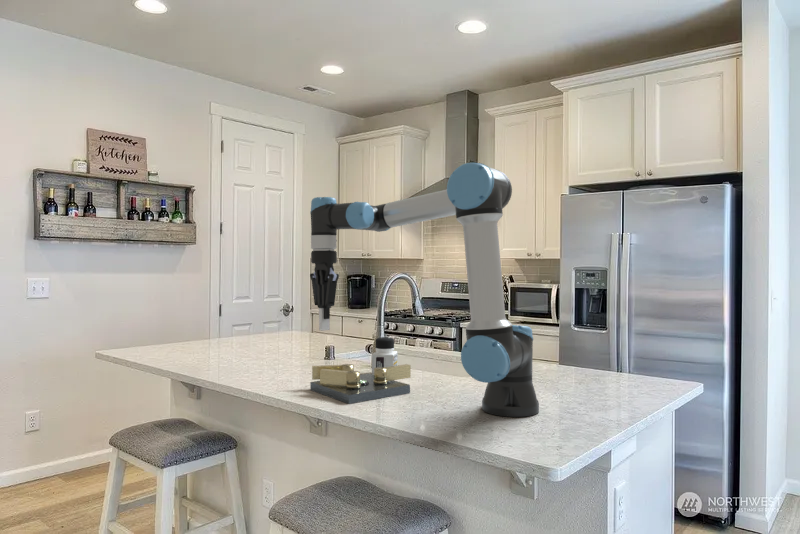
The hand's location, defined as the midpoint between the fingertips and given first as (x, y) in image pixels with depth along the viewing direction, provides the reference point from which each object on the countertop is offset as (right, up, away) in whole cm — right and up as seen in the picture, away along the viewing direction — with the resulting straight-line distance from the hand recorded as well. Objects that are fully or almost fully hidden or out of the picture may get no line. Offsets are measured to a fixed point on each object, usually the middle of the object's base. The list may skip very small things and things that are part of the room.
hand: (324, 329), depth 172 cm
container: (+17, -20, +34) cm, 43 cm away
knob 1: (+4, -17, +3) cm, 18 cm away
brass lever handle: (+1, -17, +12) cm, 20 cm away
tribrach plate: (+10, -20, +7) cm, 23 cm away
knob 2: (+20, -17, +9) cm, 28 cm away
